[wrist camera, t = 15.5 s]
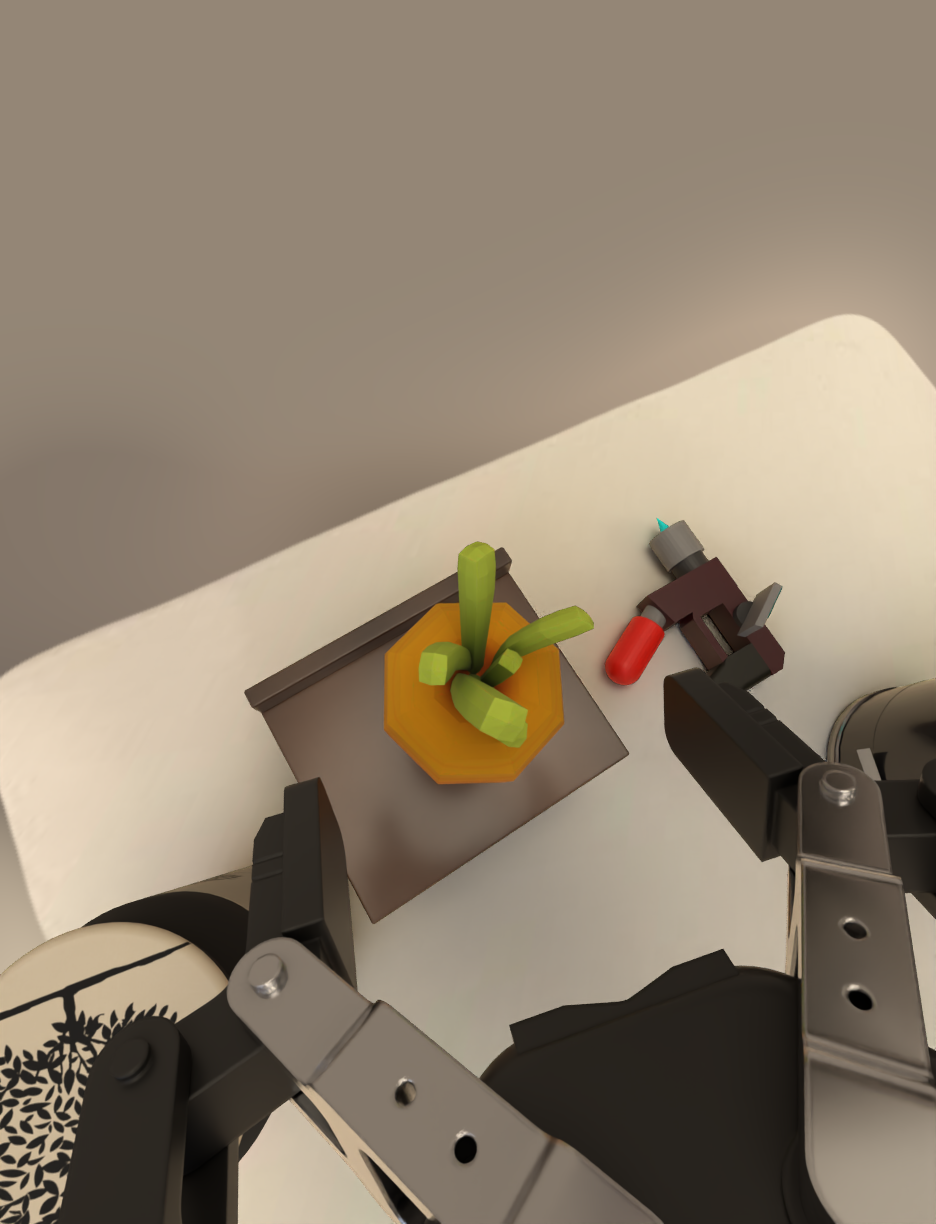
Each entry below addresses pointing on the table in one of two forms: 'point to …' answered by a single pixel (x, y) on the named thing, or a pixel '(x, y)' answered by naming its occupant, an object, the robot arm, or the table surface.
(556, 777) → the shelf
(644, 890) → the table surface
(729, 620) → the toy gun
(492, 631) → the carrot
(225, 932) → the travel mug
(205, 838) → the table surface
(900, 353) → the table surface
